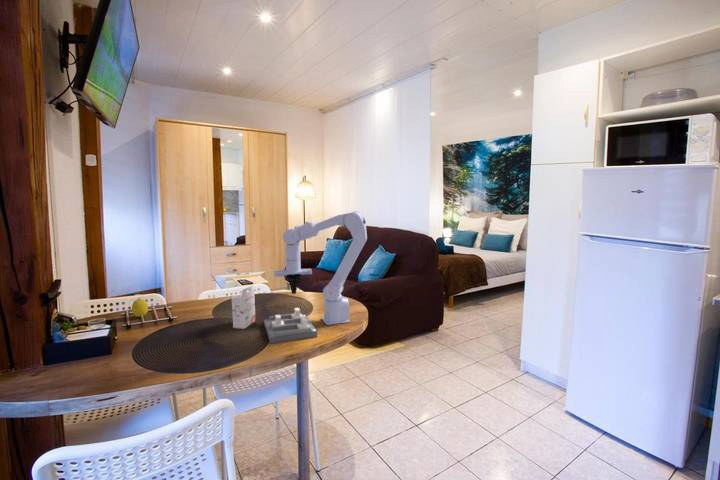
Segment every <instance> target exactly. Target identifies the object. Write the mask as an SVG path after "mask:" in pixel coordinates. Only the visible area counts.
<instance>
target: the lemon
mask: <svg viewBox="0 0 720 480" xmlns="http://www.w3.org/2000/svg"><path fill="white" fill-rule="evenodd" d="M148 311H149V304H148V302H147V301H146V299H144V298H141V297H138V298H137V299H136V300H134V301H133V302H132V304H131V312H132V314H133V315H134V316H136V317H138V318H140V317H139V316H140V315H142V317H144V316H145V315H147V313H148Z"/></svg>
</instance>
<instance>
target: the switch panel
mask: <svg viewBox="0 0 720 480" xmlns="http://www.w3.org/2000/svg"><path fill="white" fill-rule="evenodd" d="M292 314H293V313H287V314H279V315H280V316H281V321H283V322H284V324H285V325H282V326H274V329H273V327H272V322H275V315H270V316H269V319H267V318H266V319H263V325H264V329H265V332H266V334H267V337H268V340H269V343H270V344H277V343H283V342H290V341H297V340H305V339H311V338H317V337H318V330H317V329H316V328H315V326H314V324H313V323H312V322H311V320H310V319H309V318H308V316H307V315H306V314H302V315H303V316H304V317H305V318H306V319H307V323H308V324H309V325H310V327H311V328H303V329H298V328H297V324H301V318H294V319H292V318H291V315H292ZM300 314H301V312H300Z"/></svg>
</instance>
